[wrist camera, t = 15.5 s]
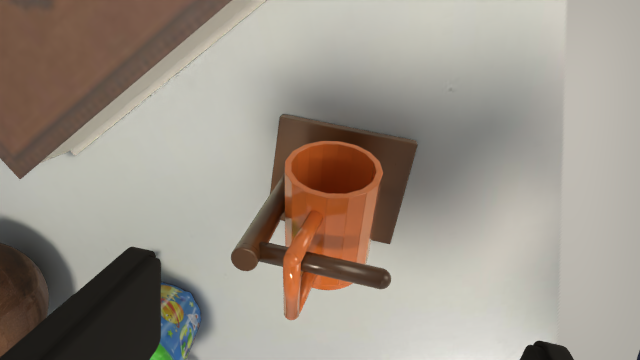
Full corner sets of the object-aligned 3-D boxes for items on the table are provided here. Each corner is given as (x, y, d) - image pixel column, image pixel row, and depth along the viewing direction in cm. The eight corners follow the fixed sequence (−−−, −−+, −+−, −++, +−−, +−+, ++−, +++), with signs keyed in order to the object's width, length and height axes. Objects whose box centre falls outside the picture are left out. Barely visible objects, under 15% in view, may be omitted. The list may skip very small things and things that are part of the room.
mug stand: (416, 140, 34) (441, 222, 20) (389, 238, 38) (394, 364, 24) (282, 113, 35) (215, 173, 21) (270, 211, 38) (206, 318, 24)
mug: (303, 220, 35) (306, 133, 29) (374, 241, 33) (391, 152, 28) (244, 321, 26) (233, 226, 21) (335, 355, 25) (348, 261, 19)
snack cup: (114, 247, 43) (40, 309, 34) (203, 249, 41) (151, 315, 32) (145, 355, 49) (89, 433, 39) (225, 361, 47) (186, 444, 38)
